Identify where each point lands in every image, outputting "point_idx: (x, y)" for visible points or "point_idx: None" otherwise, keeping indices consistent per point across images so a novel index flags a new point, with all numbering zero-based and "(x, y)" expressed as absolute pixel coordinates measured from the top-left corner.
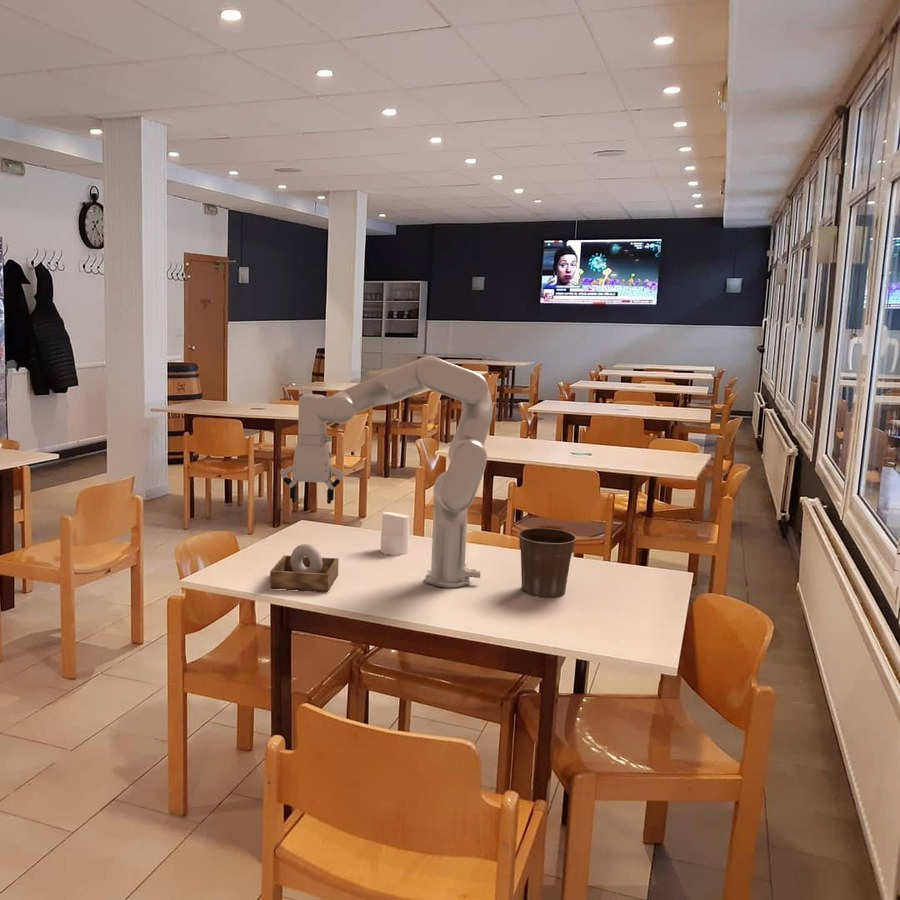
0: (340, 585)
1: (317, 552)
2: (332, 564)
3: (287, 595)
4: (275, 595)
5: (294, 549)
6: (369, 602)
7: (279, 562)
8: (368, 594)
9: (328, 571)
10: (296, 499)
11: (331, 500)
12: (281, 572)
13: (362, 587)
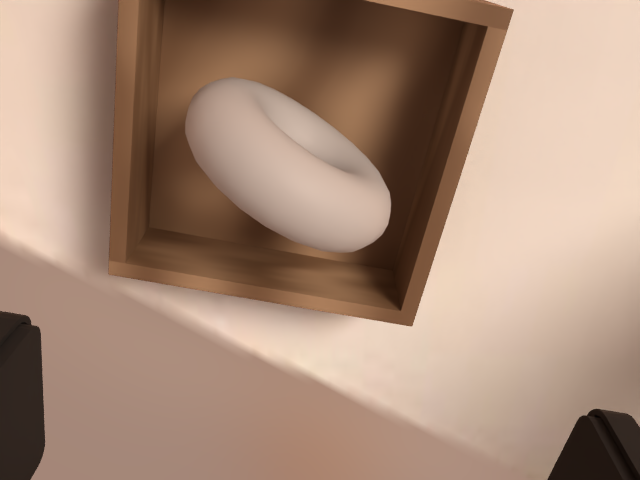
0: (471, 178)
1: (362, 242)
2: (453, 153)
3: (227, 302)
4: (176, 301)
5: (200, 161)
6: (556, 382)
7: (124, 110)
8: (577, 299)
9: (417, 279)
10: (34, 356)
11: (628, 430)
12: (169, 282)
13: (574, 209)
